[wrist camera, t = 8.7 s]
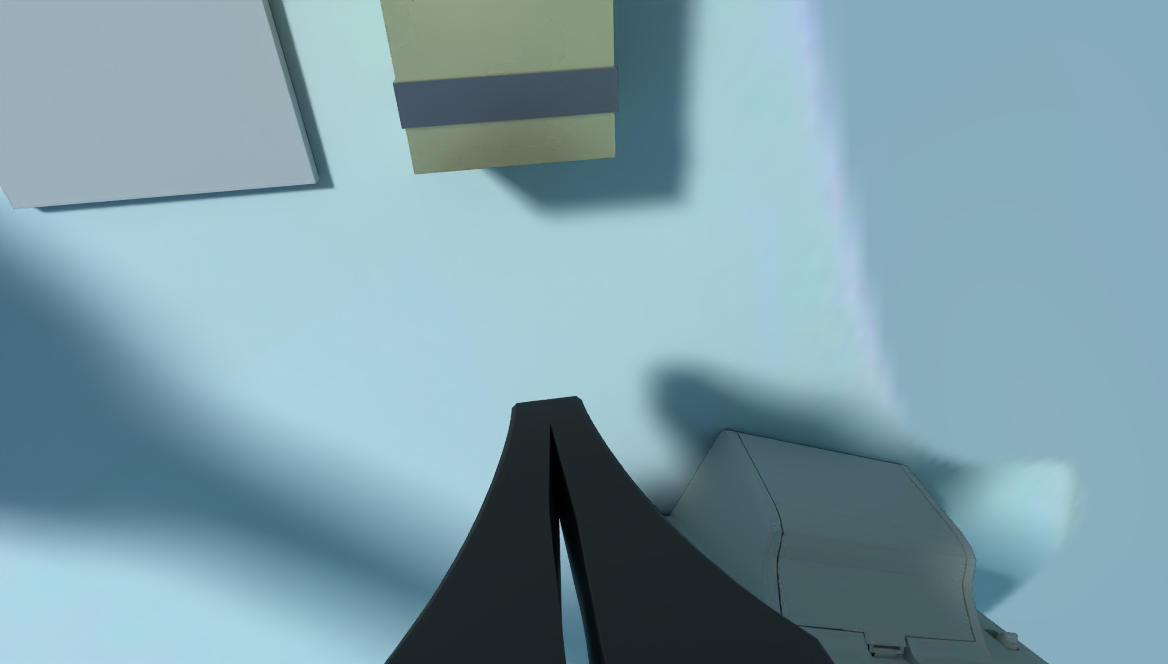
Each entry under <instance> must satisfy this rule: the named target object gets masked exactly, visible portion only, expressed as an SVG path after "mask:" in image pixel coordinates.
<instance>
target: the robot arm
mask: <svg viewBox="0 0 1168 664" xmlns="http://www.w3.org/2000/svg"><path fill="white" fill-rule="evenodd" d="M559 518H560V523H561V527H562V532H563V536H564V541H565V545H566V549H567V554H568V558H569V563H570V567H571V571H572V576H573V580H574V585H575V589H576V593H577V598H578V602H579V606H580V611H581V615H582V620H583V626H584V631H585V637H586V643H587V650H588V658H589V664H835V663H834V662H833V660H832V659H831V657H830V656H829V655H828V653H827V652H826V650H825V649H824V647H823V646H822V644H821V643H820V642H819V640H818V639H817V638H816V637H814V636H812V635H811V634H809V633H808V632H806V631H805V630H803V629H802V628H800V627H799V626H797V625H796V624H794V623H793V622H791V621H790V620H788V619H787V618H785V617H784V616H782V615H781V614H779V613H778V612H777V611H775V610H774V609H772V608H771V607H769V606H768V605H767V604H765V603H764V602H763V601H761V600H760V599H759V598H757V597H756V596H755V595H753V594H752V593H751V592H749V591H748V590H747V589H745V588H744V587H743V586H741V585H740V584H739V583H737V582H736V581H735V580H734V579H733V578H731V577H730V576H729V575H728V574H727V573H725V572H724V571H723V570H722V569H721V568H719V567H718V566H717V565H716V564H715V563H714V562H712V561H711V560H710V559H709V558H708V557H706V556H705V555H704V554H703V553H702V552H700V551H699V550H698V549H697V548H696V547H695V546H694V545H693V544H692V543H691V542H690V541H689V540H688V539H687V538H685V537H684V536H683V535H682V534H681V533H680V532H679V531H678V530H677V529H676V528H675V527H674V526H673V525H672V524H671V523H670V522H669V521H668V520H667V519H666V518H665V517H664V516H663V515H662V513H661V512H660V511H659V510H658V509H657V508H656V507H655V506H654V505H653V504H652V502H651V501H650V500H649V499H648V498H647V497H646V496H645V494H644V493H643V492H642V491H641V490H640V488H639V487H638V486H637V485H636V484H635V482H634V481H633V480H632V479H631V477H630V476H629V475H628V474H627V472H626V471H625V470H624V468H623V467H622V466H621V464H620V463H619V461H618V460H617V459H616V457H615V456H614V455H613V453H612V452H611V450H610V449H609V448H608V446H607V445H606V443H605V442H604V440H603V439H602V437H601V435H600V434H599V432H598V430H597V429H596V427H595V426H594V424H593V422H592V420H591V419H590V417H589V415H588V413H587V411H586V409H585V407H584V404H583V402H582V400H581V399H580V398H578V397H577V396H572V397H564V398H556V399H547V400H539V401H531V402H522V403H517V404H516V405H515V406H514V407H513V408H512V413H511V420H510V426H509V430H508V434H507V438H506V442H505V445H504V449H503V452H502V455H501V458H500V461H499V463H498V466H497V469H496V472H495V475H494V478H493V480H492V483H491V485H490V488H489V490H488V492H487V495H486V497H485V499H484V502H483V504H482V506H481V509H480V511H479V513H478V516H477V518H476V520H475V522H474V524H473V526H472V528H471V530H470V532H469V534H468V536H467V538H466V540H465V542H464V544H463V545H462V547H461V549H460V551H459V553H458V555H457V557H456V558H455V560H454V562H453V563H452V565H451V567H450V568H449V570H448V572H447V573H446V575H445V577H444V578H443V580H442V582H441V583H440V585H439V587H438V588H437V590H436V592H435V593H434V595H433V596H432V598H431V599H430V601H429V602H428V604H427V605H426V607H425V608H424V610H423V611H422V613H421V614H420V615H419V617H418V618H417V620H416V621H415V622H414V624H413V625H412V627H411V628H410V629H409V631H408V632H407V634H406V635H405V636H404V638H403V639H402V641H401V642H400V643H399V645H398V646H397V648H396V649H395V650H394V652H393V653H392V654H391V655H390V657H389V658H388V659H387V661H386V662H385V663H384V664H566V659H565V651H564V642H563V631H562V610H561V570H560V531H559Z"/></svg>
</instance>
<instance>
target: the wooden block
mask: <svg viewBox="0 0 1168 664" xmlns="http://www.w3.org/2000/svg"><path fill="white" fill-rule="evenodd" d="M380 2H381V7H382V12H383V17H384V22H385V27H386V32H387V38H388V43H389V48H390V53H391V58H392V63H393V68H394V73H395V78H396V79H395V81H394V82H393V87H394V91H395V96H396V101H397V106H398V111H399V116H400V121H401V126H402V129H405V128H406V133H407V138H408V143H409V148H410V153H411V158H412V163H413V168H414V173H415V174H424V173H436V172H448V171H460V170H471V169H483V168H495V167H507V166H519V165H531V164H542V163H554V162H566V161H578V160H590V159H602V158H614V157H615V112H618V67H617V66H616V65H614V21H613V0H380Z"/></svg>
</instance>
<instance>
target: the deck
mask: <svg viewBox="0 0 1168 664" xmlns="http://www.w3.org/2000/svg"><path fill="white" fill-rule="evenodd" d="M318 180H319V176H318V172H317V169H316V165H315V162H314V159H313V155H312V152H311V148H310V145H309V141H308V138H307V134H306V131H305V127H304V124H303V120H302V117H301V113H300V110H299V106H298V103H297V100H296V96H295V93H294V89H293V86H292V82H291V79H290V75H289V72H288V68H287V65H286V61H285V58H284V54H283V51H282V48H281V44H280V41H279V37H278V34H277V30H276V27H275V23H274V20H273V16H272V13H271V9H270V6H269V2H268V0H0V186H1V188H2V190H3V191H4V193H5V195H6V197H7V198H8V200H9V202H10V203H11V205H12V207H13V208H14V209H21V208H32V207H44V206H56V205H68V204H80V203H91V202H103V201H115V200H127V199H139V198H151V197H162V196H174V195H186V194H198V193H210V192H221V191H233V190H245V189H257V188H269V187H281V186H292V185H304V184H316V182H317V181H318Z"/></svg>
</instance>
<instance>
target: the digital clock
mask: <svg viewBox="0 0 1168 664" xmlns="http://www.w3.org/2000/svg"><path fill="white" fill-rule="evenodd" d="M664 517H665V518H666V519H667V520H668V521H669V522H670V523H671V524H672V525H673V526H674V527H675V528H676V529H677V530H678V531H679V532H680V533H681V534H682V535H683V536H684V537H685V538H687V539H688V540H689V541H690V542H691V543H692V544H693V545H694V546H695V547H696V548H697V549H698V550H699V551H700V552H702V553H703V554H704V555H705V556H706V557H708V558H709V559H710V560H711V561H712V562H714V563H715V564H716V565H717V566H718V567H719V568H721V569H722V570H723V571H724V572H725V573H727V574H728V575H729V576H730V577H731V578H733V579H734V580H735V581H736V582H737V583H739V584H740V585H741V586H743V587H744V588H745V589H747V590H748V591H749V592H751V593H752V594H753V595H755V596H756V597H757V598H759V599H760V600H761V601H763V602H764V603H765V604H767V605H768V606H769V607H771V608H772V609H774V610H775V611H777V612H778V613H779V614H781V615H782V616H784V617H785V618H787V619H788V620H790V621H791V622H793V623H794V624H796V625H797V626H799V627H800V628H802V629H803V630H805V631H806V632H808V633H809V634H811V635H812V636H814V637H816V638H817V639H818V640H819V642H820V643H821V644H822V646H823V647H824V649H825V650H826V652H827V653H828V655H829V656H830V657H831V659H832V660H833V662H834V663H835V664H1048V663H1047V662H1046V661H1044V660H1043V659H1042V658H1040V657H1039V656H1038V655H1036V654H1035V653H1034V652H1032V651H1031V650H1030V649H1028V648H1027V647H1026V646H1024V645H1023V644H1022V643H1020V642H1019V641H1018V639H1017V637H1018V635H1017V634H1015V633H1010V632H1006V631H1004V630H1003V629H1002V628H1000V627H999V626H998V625H996V624H995V623H994V622H992V621H991V620H990V619H988V618H987V617H986V616H984V615H983V614H982V613H980V612H979V611H978V610H976V607H975V602H974V598H973V590H972V580H973V576H974V572H975V564H976V558H975V555H974V553H973V550H972V548H971V546H970V544H969V543H968V541H967V540H966V538H965V537H964V535H963V534H962V532H961V531H960V530H959V529H958V528H957V526H956V525H955V524H954V523H953V521H952V520H951V519H950V518H949V517H948V515H947V514H946V513H945V512H944V511H943V509H942V508H941V507H940V506H939V505H938V503H937V502H936V501H935V500H934V498H933V497H932V496H931V495H930V494H929V492H928V491H927V490H926V489H925V488H924V486H923V485H922V484H921V483H920V482H919V480H918V479H917V478H916V477H915V476H914V474H913V473H912V472H911V471H910V470H909V468H908V467H907V466H904V465H899V464H894V463H889V462H884V461H879V460H874V459H869V458H864V457H859V456H854V455H849V454H844V453H839V452H834V451H829V450H824V449H819V448H814V447H809V446H804V445H799V444H794V443H789V442H784V441H779V440H774V439H769V438H764V437H759V436H754V435H749V434H744V433H739V432H734V431H729V430H723V431H722V432H721V433H720V434H719V435H718V437H717V438H716V440H715V441H714V443H713V445H712V446H711V448H710V450H709V451H708V453H707V455H706V456H705V458H704V460H703V461H702V463H701V465H700V466H699V468H698V470H697V471H696V473H695V475H694V476H693V478H692V479H691V481H690V483H689V484H688V486H687V488H686V489H685V491H684V493H683V494H682V496H681V498H680V499H679V501H678V503H677V504H676V506H675V508H674V509H673V511H672V513H671V514H670V516H664Z"/></svg>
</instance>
